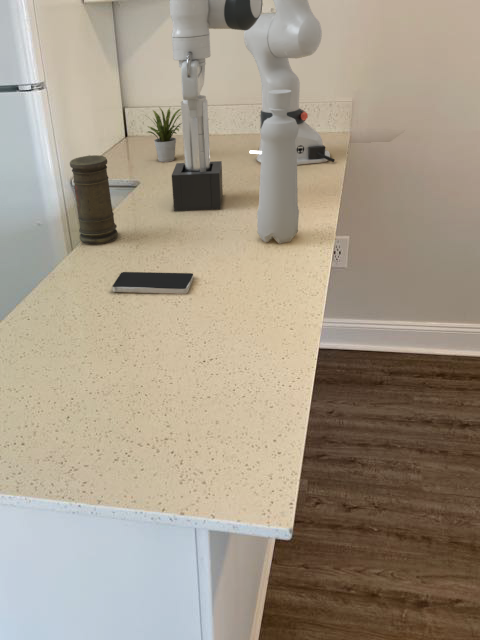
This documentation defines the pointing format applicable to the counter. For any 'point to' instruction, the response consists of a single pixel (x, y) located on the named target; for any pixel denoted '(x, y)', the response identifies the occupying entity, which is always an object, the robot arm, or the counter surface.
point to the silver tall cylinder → (196, 137)
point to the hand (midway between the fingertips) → (194, 113)
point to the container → (93, 200)
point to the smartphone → (153, 282)
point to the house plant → (165, 136)
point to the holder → (197, 188)
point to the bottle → (278, 172)
